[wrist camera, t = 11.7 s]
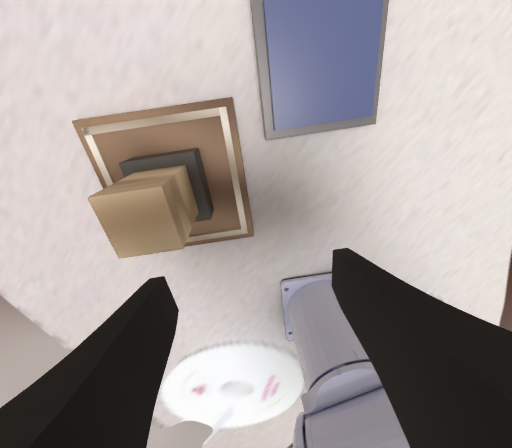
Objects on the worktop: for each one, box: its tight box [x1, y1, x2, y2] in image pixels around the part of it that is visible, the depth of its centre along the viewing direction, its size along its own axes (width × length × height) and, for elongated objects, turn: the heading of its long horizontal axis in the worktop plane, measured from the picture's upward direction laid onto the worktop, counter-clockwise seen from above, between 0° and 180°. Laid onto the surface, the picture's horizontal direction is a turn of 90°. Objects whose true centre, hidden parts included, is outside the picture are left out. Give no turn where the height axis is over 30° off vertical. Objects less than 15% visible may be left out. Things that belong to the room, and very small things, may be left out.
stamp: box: [88, 148, 214, 259], centre depth 14 cm, size 5×5×7 cm
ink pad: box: [251, 0, 389, 140], centre depth 14 cm, size 8×8×2 cm
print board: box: [72, 97, 254, 247], centre depth 17 cm, size 11×11×1 cm
